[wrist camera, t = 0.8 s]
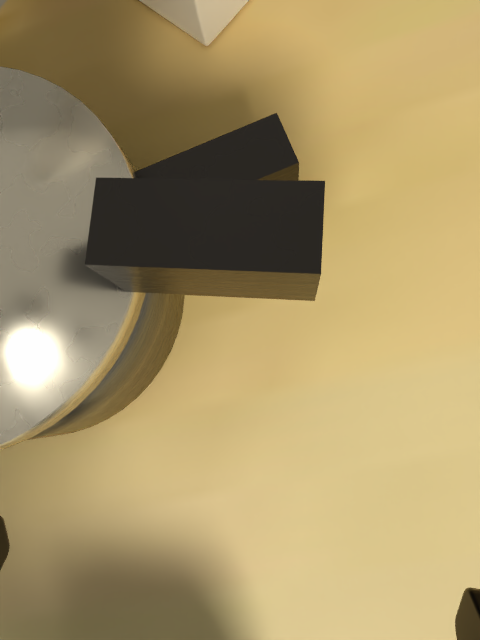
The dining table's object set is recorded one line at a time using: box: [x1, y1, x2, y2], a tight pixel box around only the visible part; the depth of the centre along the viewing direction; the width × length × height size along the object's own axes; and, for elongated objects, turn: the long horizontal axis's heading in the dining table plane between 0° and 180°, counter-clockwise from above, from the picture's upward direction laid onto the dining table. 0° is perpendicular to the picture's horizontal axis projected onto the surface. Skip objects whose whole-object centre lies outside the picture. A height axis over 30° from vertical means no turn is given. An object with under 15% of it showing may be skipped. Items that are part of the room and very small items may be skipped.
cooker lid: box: [0, 67, 325, 450], centre depth 17 cm, size 23×17×5 cm
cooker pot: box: [27, 113, 299, 440], centre depth 24 cm, size 26×16×7 cm, turn 111°
